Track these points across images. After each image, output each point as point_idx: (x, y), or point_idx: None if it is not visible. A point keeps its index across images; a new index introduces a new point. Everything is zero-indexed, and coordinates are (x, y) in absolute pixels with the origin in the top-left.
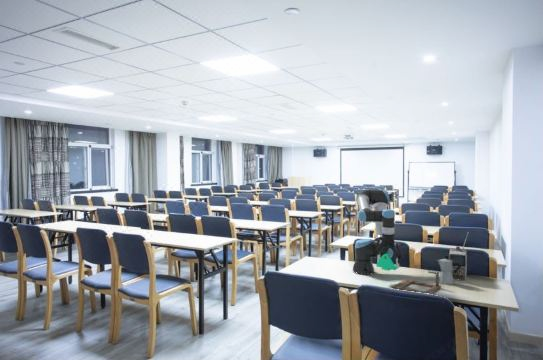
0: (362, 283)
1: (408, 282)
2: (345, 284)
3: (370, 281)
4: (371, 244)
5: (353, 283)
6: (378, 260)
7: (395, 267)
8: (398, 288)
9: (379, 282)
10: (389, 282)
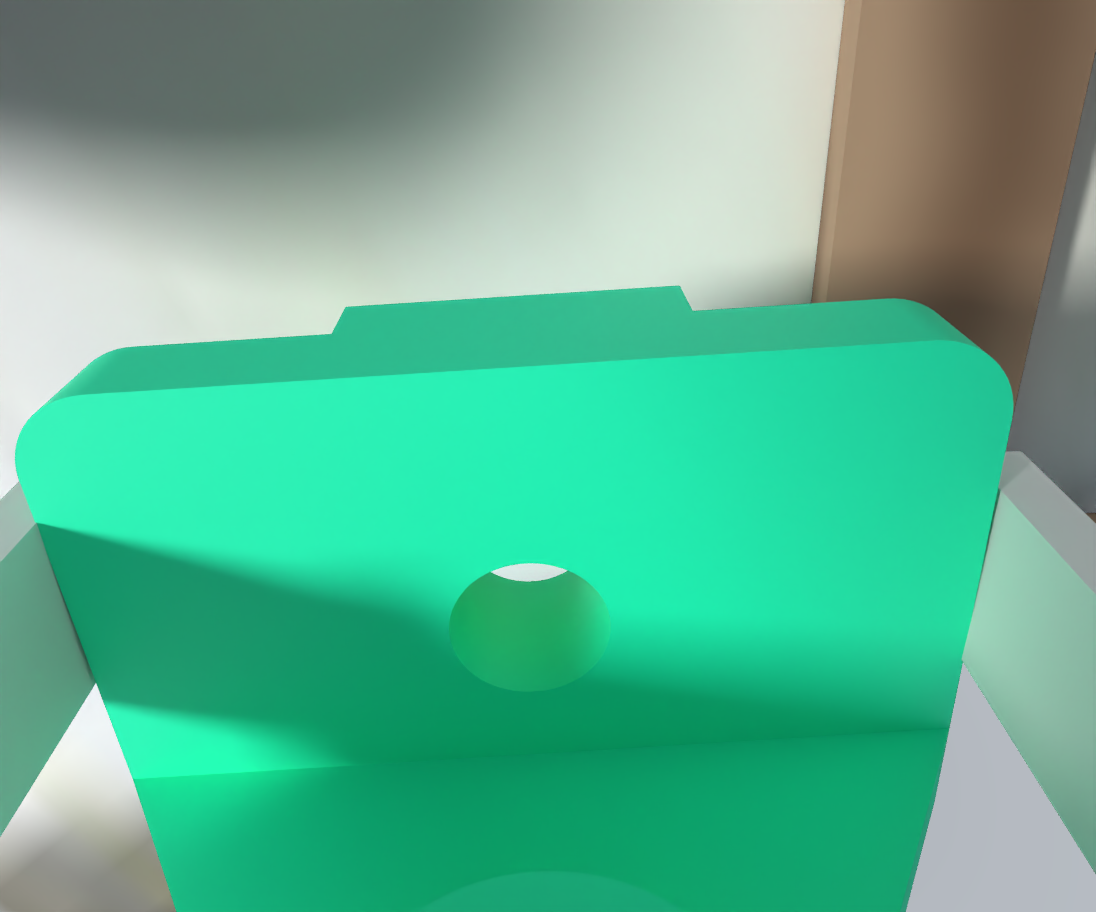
0: None
1: (1062, 61)
2: (19, 895)
3: None
4: None
5: (58, 786)
6: (28, 788)
7: (944, 720)
8: None
9: None
10: (547, 251)
